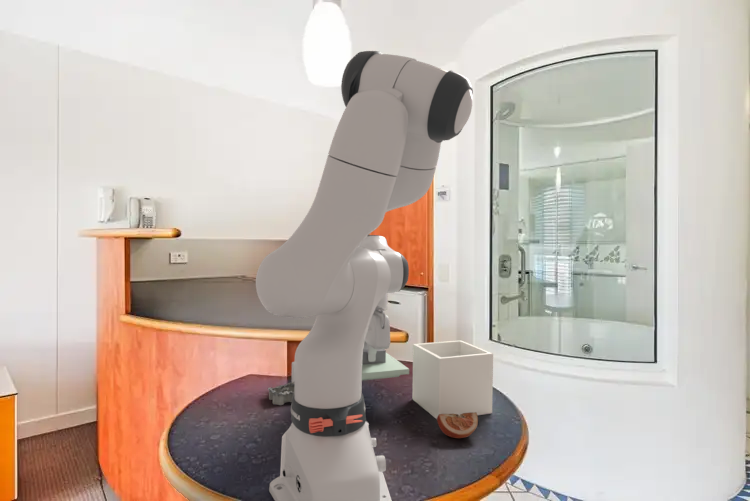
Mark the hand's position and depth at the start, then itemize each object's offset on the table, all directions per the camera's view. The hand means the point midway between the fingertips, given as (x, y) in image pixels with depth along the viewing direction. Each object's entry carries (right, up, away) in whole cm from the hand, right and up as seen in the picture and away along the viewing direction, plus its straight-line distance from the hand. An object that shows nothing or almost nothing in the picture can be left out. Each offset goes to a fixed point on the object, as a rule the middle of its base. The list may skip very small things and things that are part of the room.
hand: (368, 358), depth 103 cm
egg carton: (-20, -12, +4) cm, 23 cm away
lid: (0, -2, 0) cm, 2 cm away
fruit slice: (+19, -12, -16) cm, 28 cm away
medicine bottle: (-16, -11, +13) cm, 23 cm away
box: (+20, -12, 0) cm, 23 cm away
